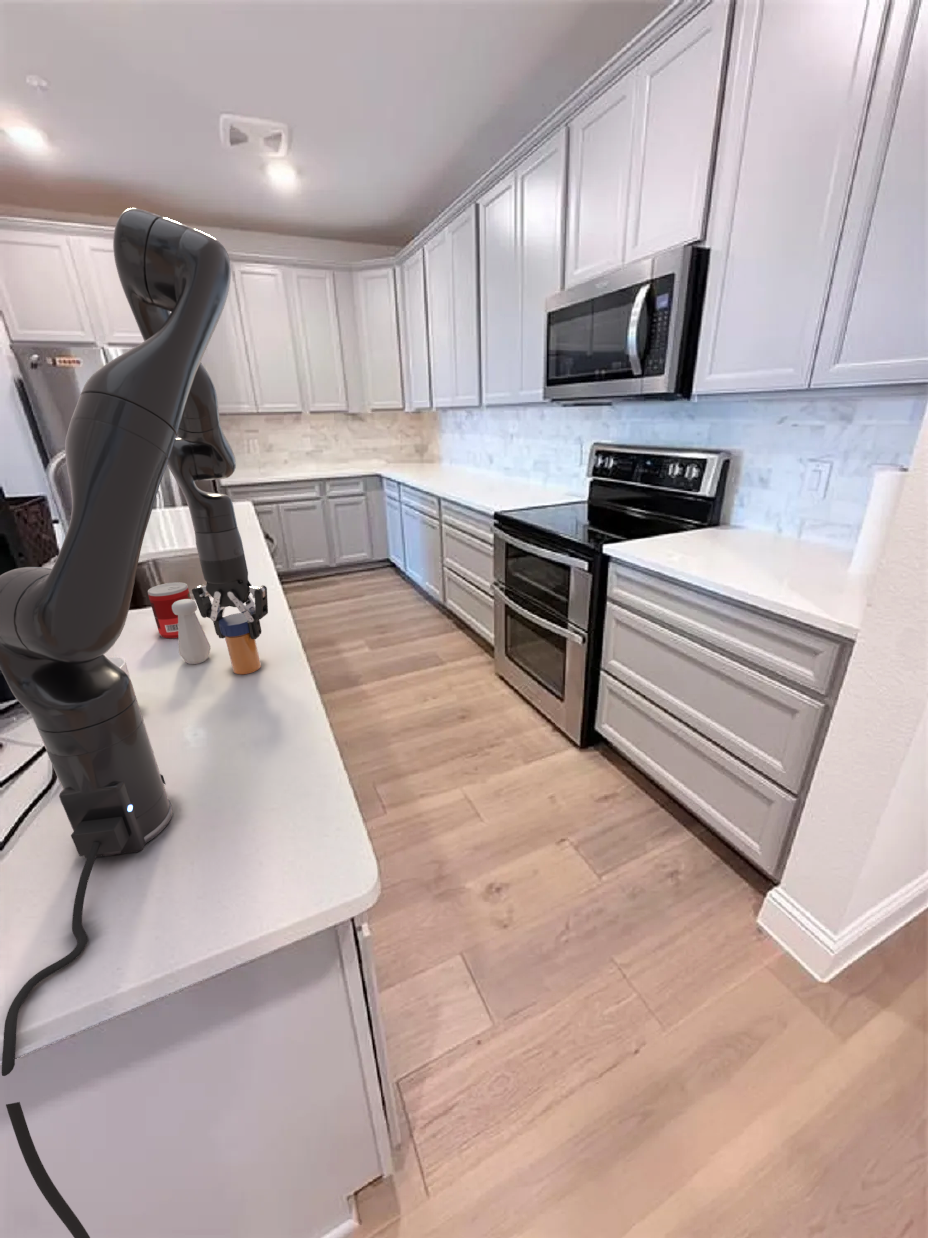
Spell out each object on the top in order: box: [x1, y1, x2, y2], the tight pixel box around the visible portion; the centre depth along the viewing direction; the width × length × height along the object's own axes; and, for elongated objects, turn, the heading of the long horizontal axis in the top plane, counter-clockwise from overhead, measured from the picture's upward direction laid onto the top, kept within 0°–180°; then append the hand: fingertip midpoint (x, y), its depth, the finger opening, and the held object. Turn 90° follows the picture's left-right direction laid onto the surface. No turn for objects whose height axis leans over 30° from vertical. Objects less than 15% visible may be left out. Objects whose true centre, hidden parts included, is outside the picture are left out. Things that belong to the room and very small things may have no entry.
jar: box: [224, 632, 262, 675], centre depth 99 cm, size 5×5×10 cm
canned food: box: [147, 581, 192, 639], centre depth 116 cm, size 8×8×11 cm
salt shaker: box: [172, 598, 212, 665], centre depth 103 cm, size 6×6×13 cm
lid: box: [219, 612, 249, 637], centre depth 97 cm, size 6×6×2 cm
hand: (239, 636), depth 98 cm, fingers closed on lid, 6 cm apart
